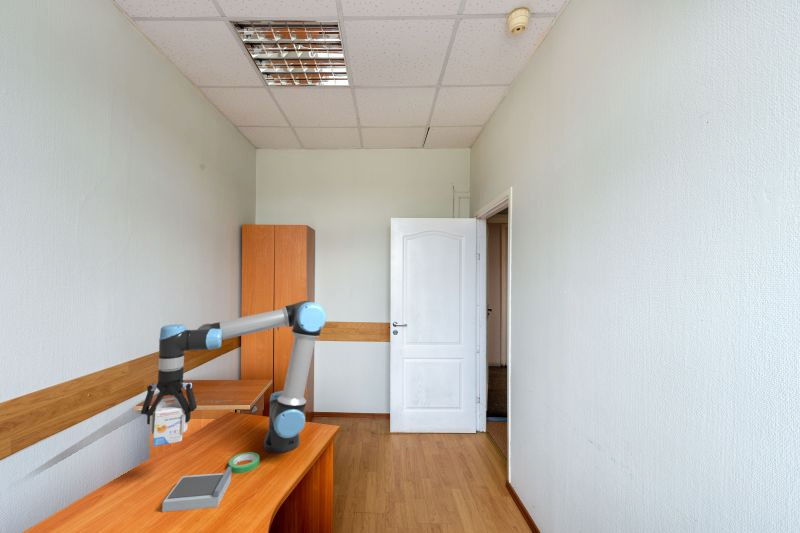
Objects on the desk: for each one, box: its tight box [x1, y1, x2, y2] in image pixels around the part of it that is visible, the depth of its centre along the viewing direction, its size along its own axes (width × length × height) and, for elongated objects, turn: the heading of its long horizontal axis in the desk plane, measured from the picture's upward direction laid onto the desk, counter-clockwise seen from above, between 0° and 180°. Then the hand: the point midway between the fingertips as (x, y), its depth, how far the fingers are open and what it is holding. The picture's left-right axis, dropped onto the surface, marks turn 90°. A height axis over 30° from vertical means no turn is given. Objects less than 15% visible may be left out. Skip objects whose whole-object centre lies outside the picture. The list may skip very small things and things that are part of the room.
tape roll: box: [227, 451, 260, 475], centre depth 131 cm, size 11×11×3 cm
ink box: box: [152, 396, 184, 447], centre depth 118 cm, size 8×5×15 cm, turn 123°
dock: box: [161, 467, 232, 513], centre depth 112 cm, size 16×14×5 cm
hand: (168, 431), depth 118 cm, fingers closed on ink box, 9 cm apart
